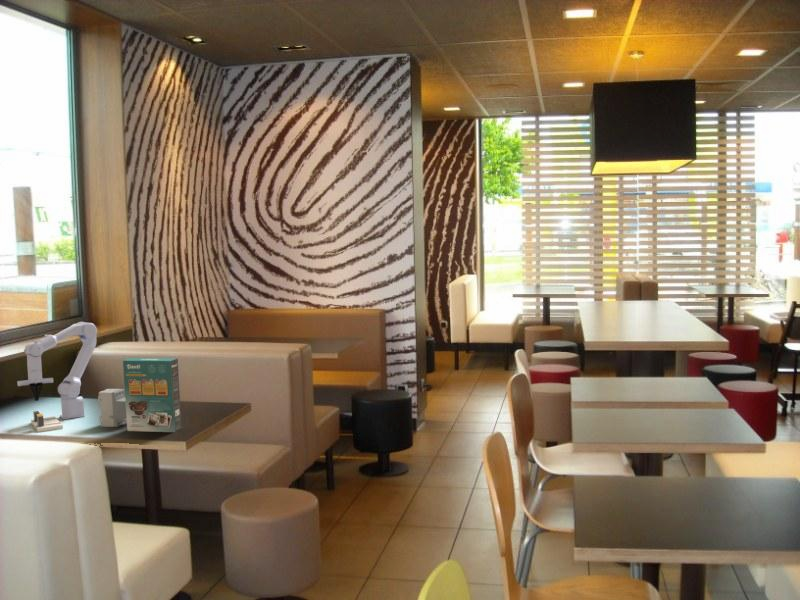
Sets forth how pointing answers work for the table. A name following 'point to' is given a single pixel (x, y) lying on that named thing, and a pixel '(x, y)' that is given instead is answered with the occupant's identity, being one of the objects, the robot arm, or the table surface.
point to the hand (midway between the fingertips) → (36, 400)
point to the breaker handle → (40, 420)
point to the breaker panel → (46, 423)
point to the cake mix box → (152, 394)
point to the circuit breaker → (112, 407)
